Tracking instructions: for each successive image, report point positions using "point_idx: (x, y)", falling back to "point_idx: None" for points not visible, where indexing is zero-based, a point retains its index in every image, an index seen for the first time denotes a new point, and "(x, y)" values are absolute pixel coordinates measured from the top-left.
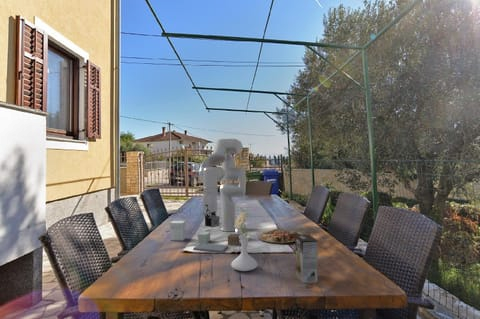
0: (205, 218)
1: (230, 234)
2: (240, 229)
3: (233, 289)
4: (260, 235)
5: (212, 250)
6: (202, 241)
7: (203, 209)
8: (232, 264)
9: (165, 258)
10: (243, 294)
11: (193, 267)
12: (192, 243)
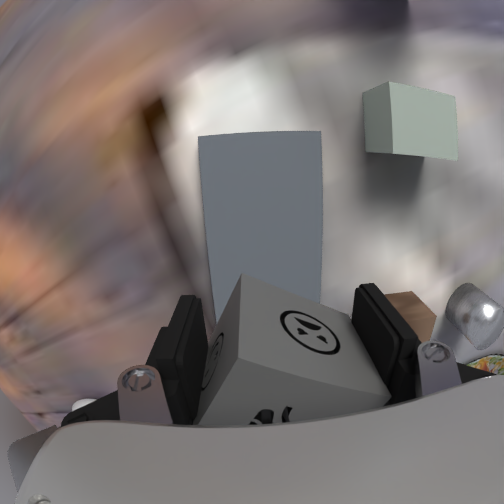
0: (137, 373)
1: (416, 322)
2: (476, 343)
3: (23, 401)
4: (480, 362)
5: (210, 272)
6: (368, 124)
7: (35, 491)
8: (74, 407)
9: (41, 95)
10: (26, 415)
11: (23, 277)
12: (331, 64)
